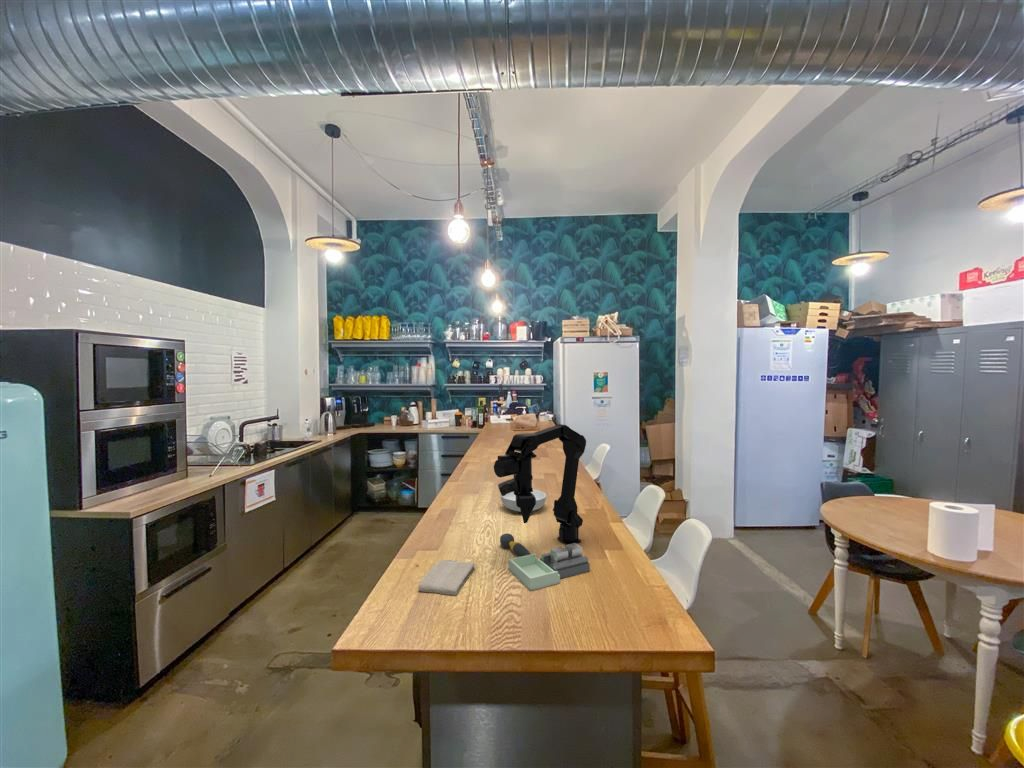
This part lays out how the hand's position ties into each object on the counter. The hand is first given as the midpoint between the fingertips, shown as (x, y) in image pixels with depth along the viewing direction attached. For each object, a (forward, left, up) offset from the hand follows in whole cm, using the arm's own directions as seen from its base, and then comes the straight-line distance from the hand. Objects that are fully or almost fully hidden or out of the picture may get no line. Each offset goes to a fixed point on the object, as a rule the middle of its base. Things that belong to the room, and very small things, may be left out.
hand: (524, 517), depth 141 cm
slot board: (-7, +13, -13) cm, 20 cm away
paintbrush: (+1, -4, -14) cm, 14 cm away
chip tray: (+4, +13, -13) cm, 19 cm away
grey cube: (-11, +13, -11) cm, 20 cm away
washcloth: (+28, +3, -14) cm, 31 cm away
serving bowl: (-23, -44, -14) cm, 52 cm away
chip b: (-5, +13, -11) cm, 18 cm away
